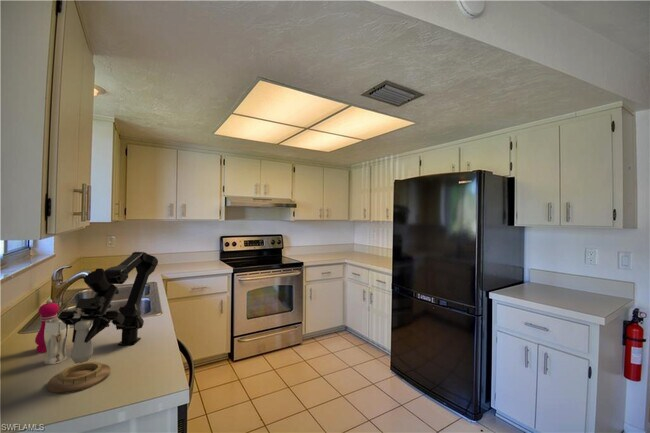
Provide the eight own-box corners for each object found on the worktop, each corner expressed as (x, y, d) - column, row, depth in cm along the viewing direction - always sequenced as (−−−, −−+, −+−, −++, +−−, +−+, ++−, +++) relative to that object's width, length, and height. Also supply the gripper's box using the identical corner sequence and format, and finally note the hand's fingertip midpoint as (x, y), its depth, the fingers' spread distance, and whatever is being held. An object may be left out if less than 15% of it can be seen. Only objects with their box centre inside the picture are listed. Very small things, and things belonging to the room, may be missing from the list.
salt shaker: (95, 355, 101) (96, 317, 101) (90, 362, 96) (91, 323, 95) (73, 357, 98) (75, 319, 98) (67, 366, 93) (68, 325, 93)
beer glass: (48, 357, 110) (50, 317, 110) (71, 355, 113) (73, 316, 113) (38, 366, 104) (40, 324, 104) (62, 363, 106) (64, 322, 106)
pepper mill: (64, 345, 120) (66, 297, 121) (48, 353, 113) (50, 302, 113) (46, 345, 120) (48, 296, 120) (29, 353, 113) (31, 301, 113)
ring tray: (71, 367, 103) (71, 359, 103) (119, 366, 106) (120, 357, 106) (32, 394, 88) (33, 384, 88) (91, 392, 90) (91, 382, 90)
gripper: (63, 287, 100) (33, 332, 89) (121, 287, 102) (98, 331, 91) (79, 303, 108) (53, 346, 97) (132, 303, 110) (113, 345, 99)
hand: (79, 342), depth 96 cm, fingers closed on salt shaker, 3 cm apart
